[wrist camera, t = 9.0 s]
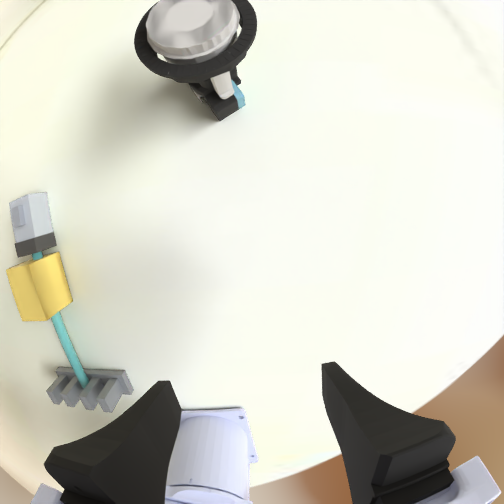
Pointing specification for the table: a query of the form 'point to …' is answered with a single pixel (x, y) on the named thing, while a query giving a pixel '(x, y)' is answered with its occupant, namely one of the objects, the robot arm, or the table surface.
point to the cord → (66, 341)
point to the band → (35, 244)
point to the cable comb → (90, 388)
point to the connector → (31, 216)
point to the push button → (199, 47)
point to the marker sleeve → (39, 287)
